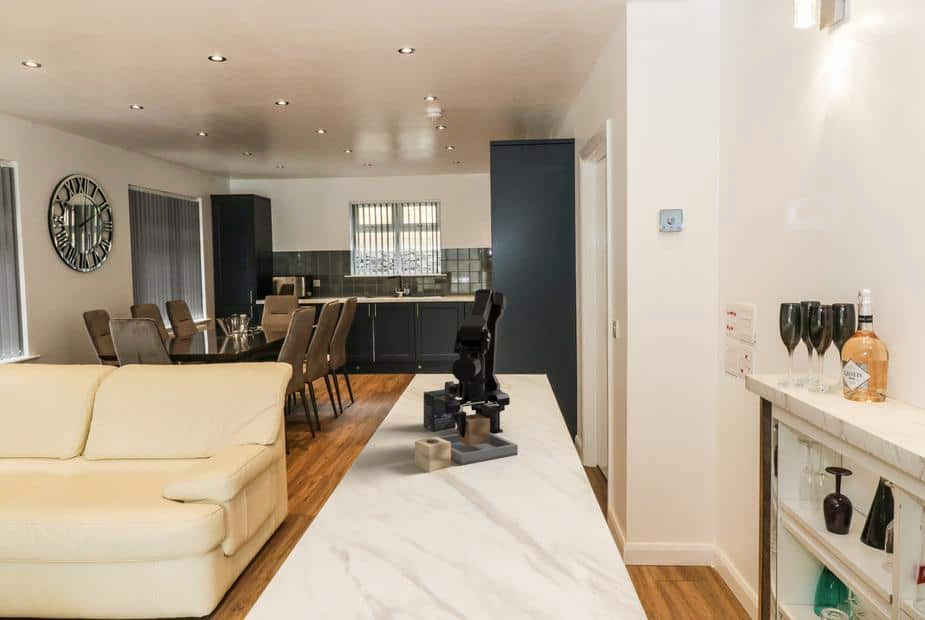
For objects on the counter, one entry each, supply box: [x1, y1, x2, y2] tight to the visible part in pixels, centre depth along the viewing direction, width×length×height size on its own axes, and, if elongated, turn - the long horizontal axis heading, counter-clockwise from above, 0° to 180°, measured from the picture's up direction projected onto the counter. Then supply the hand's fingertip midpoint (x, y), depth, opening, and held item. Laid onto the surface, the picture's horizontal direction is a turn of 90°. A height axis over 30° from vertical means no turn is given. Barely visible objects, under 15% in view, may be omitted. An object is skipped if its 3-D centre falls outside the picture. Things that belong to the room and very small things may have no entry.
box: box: [423, 388, 457, 433], centre depth 182 cm, size 8×6×11 cm
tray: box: [437, 433, 519, 466], centre depth 160 cm, size 16×16×2 cm
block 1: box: [414, 436, 452, 473], centre depth 149 cm, size 6×6×6 cm
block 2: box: [456, 413, 490, 446], centre depth 160 cm, size 6×6×6 cm
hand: (473, 435), depth 160 cm, fingers closed on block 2, 6 cm apart
